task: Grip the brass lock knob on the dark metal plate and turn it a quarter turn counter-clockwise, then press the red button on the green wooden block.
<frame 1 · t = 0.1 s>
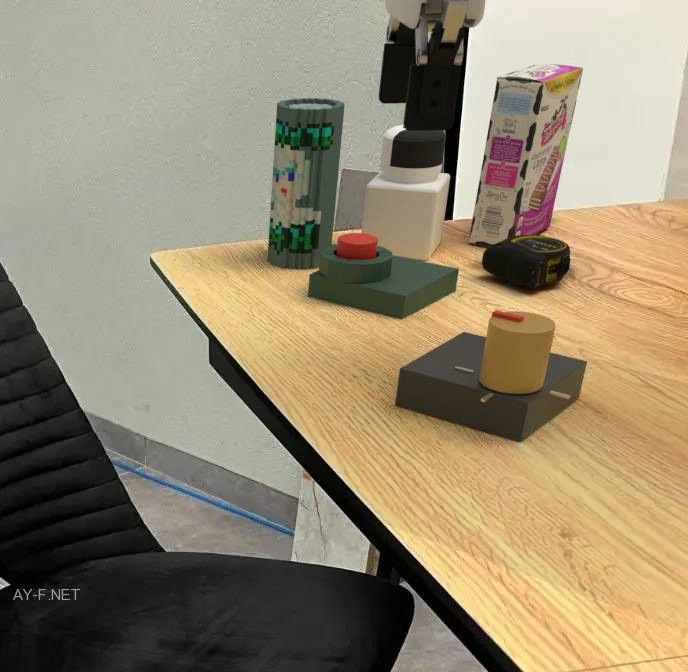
hand: (413, 115, 81), 19 cm above the table, tool pointing down, fingers open, 9 cm apart
candy bar box: (510, 238, 122), on the table
lock knob: (516, 350, 80), point 5 cm above the table, hinge at 0.0°
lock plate: (486, 402, 86), on the table
button block: (381, 294, 108), on the table
button: (357, 247, 105), point 4 cm above the table, slide at 0.1 cm
medicine bottle: (400, 250, 120), on the table
can: (298, 262, 117), on the table
tape measure: (523, 286, 109), on the table
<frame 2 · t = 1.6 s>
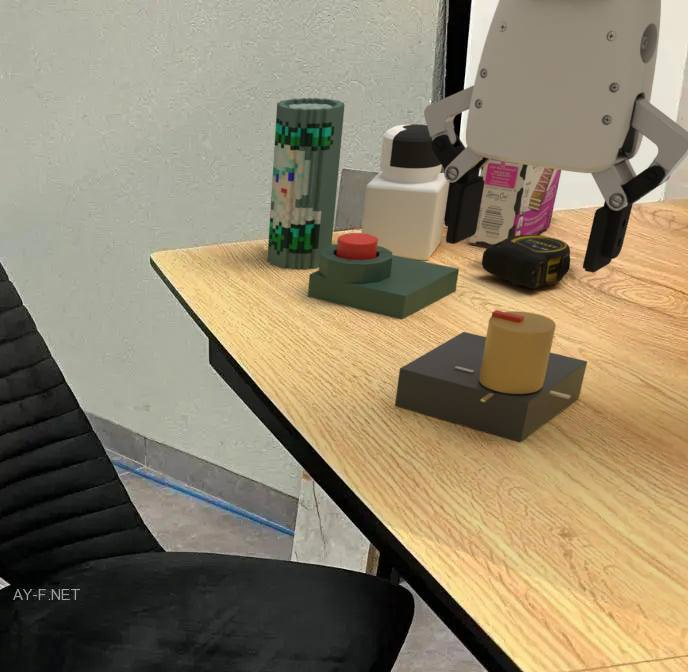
hand: (526, 252, 77), 12 cm above the table, tool pointing down, fingers open, 9 cm apart
nothing on the table moved.
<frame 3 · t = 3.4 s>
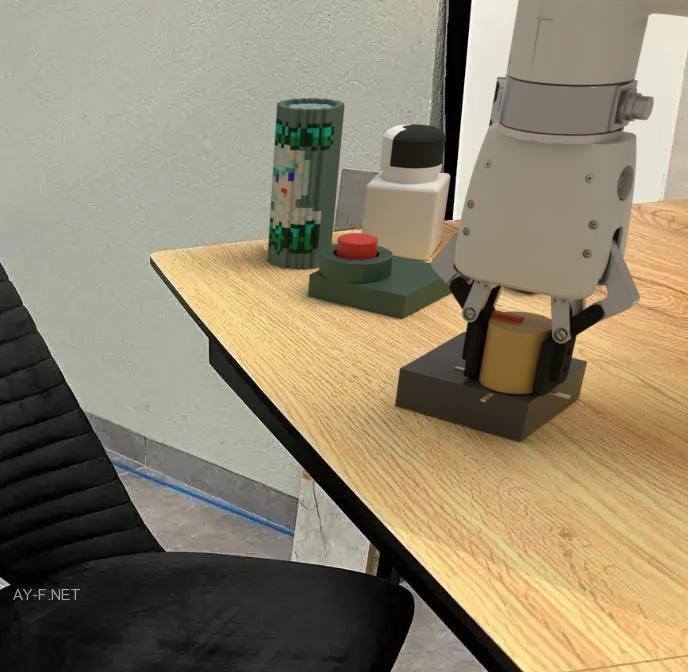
hand: (511, 378, 82), 3 cm above the table, tool pointing down, fingers closed on lock knob, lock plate, 4 cm apart
lock knob: (516, 350, 80), point 5 cm above the table, hinge at 0.0°, touching gripper
everything else where it was.
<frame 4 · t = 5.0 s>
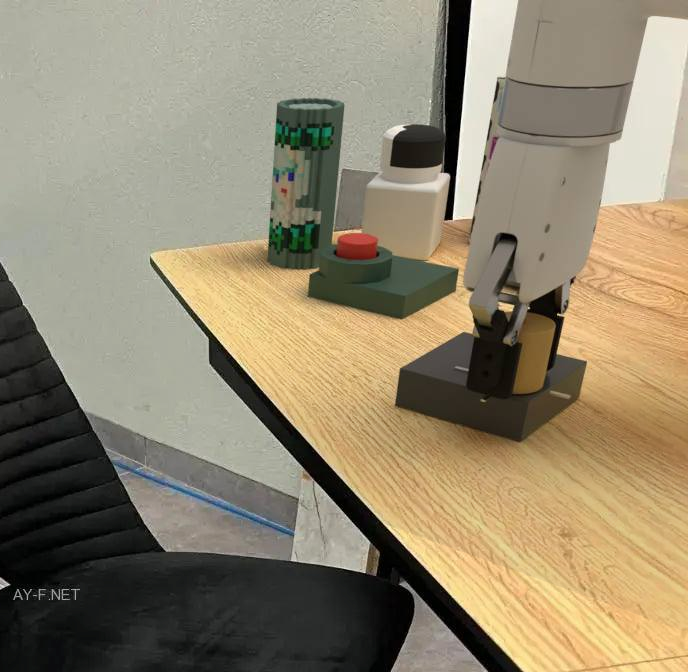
hand: (510, 377, 82), 3 cm above the table, tool pointing down, fingers open, 6 cm apart
lock knob: (516, 350, 80), point 5 cm above the table, hinge at 90.2°
everything else where it was.
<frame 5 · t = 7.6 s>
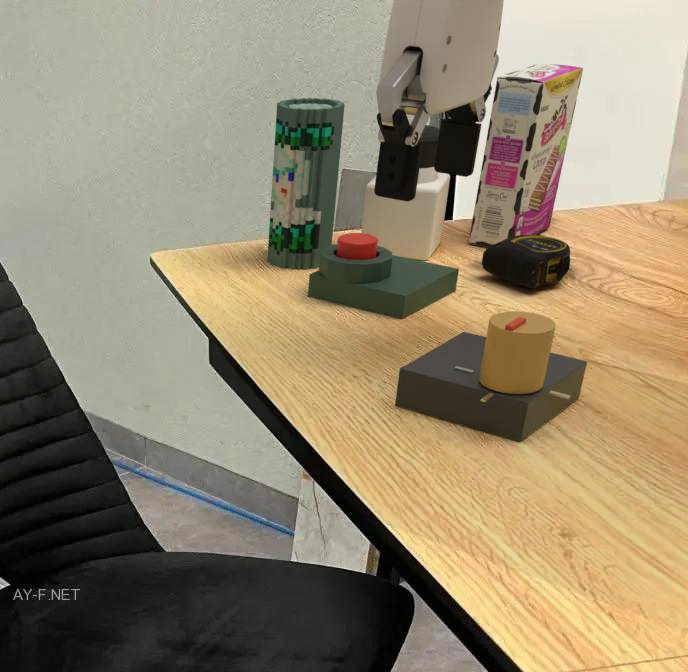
hand: (424, 185, 90), 13 cm above the table, tool pointing down, fingers open, 9 cm apart
nothing on the table moved.
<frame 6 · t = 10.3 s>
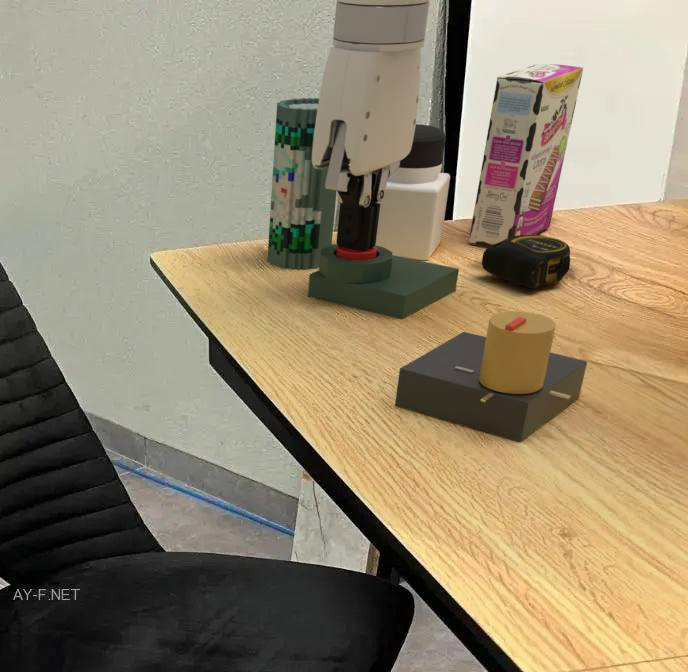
hand: (355, 246, 105), 5 cm above the table, tool pointing down, fingers closed
button: (356, 256, 106), point 4 cm above the table, slide at -0.7 cm, touching gripper
everything else where it was.
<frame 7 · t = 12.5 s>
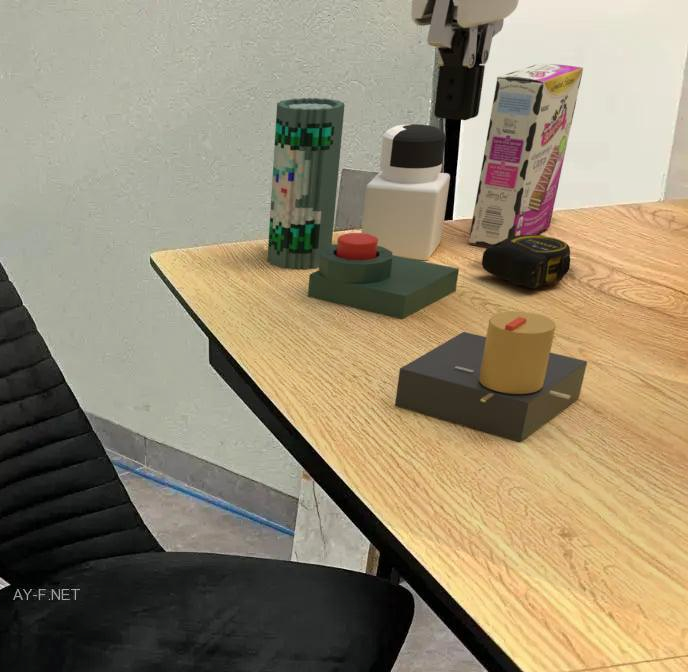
hand: (455, 116, 96), 16 cm above the table, tool pointing down, fingers closed
button: (357, 247, 105), point 4 cm above the table, slide at 0.1 cm
everything else where it was.
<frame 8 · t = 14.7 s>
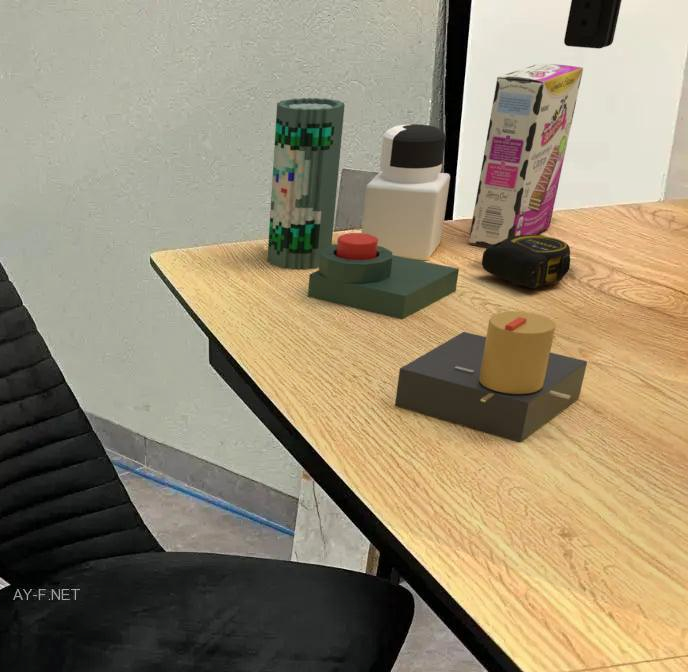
hand: (587, 45, 89), 22 cm above the table, tool pointing down, fingers closed
nothing on the table moved.
at the end: lock knob at +90° (first picture: +0°); button pushed in 1.1 cm at the most during the clip, back to where it started at the end; button slide at 0.1 cm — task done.
